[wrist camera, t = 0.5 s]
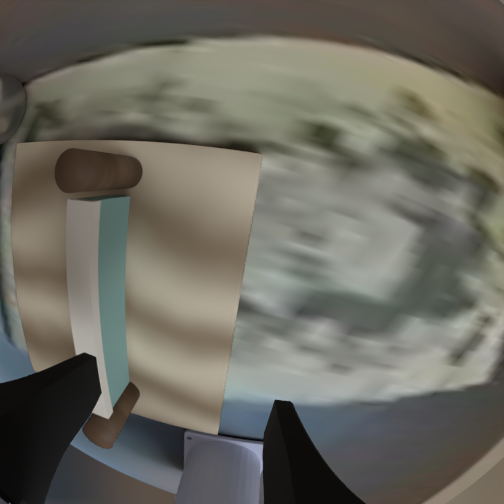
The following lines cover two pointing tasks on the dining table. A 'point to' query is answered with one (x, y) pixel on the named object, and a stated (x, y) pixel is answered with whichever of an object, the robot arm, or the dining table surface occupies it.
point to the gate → (99, 288)
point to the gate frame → (142, 266)
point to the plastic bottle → (10, 106)
